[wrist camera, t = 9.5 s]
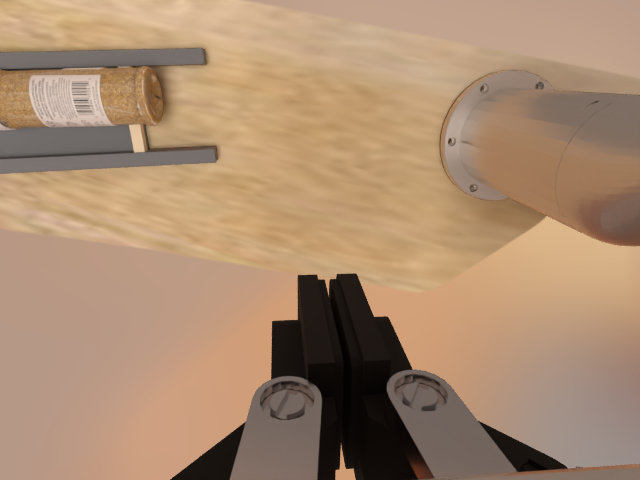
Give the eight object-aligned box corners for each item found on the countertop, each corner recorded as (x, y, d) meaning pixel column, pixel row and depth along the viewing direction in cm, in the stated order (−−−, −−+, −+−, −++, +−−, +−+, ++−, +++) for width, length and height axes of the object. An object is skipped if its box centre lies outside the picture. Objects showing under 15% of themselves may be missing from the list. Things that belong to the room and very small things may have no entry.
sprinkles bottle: (156, 58, 34) (-16, 61, 33) (139, 76, 30) (-54, 79, 30) (169, 114, 37) (10, 117, 36) (155, 136, 33) (-21, 140, 33)
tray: (204, 49, 36) (200, 47, 34) (217, 158, 40) (214, 164, 37) (-77, 55, 34) (-105, 53, 31) (-37, 171, 37) (-59, 179, 35)
